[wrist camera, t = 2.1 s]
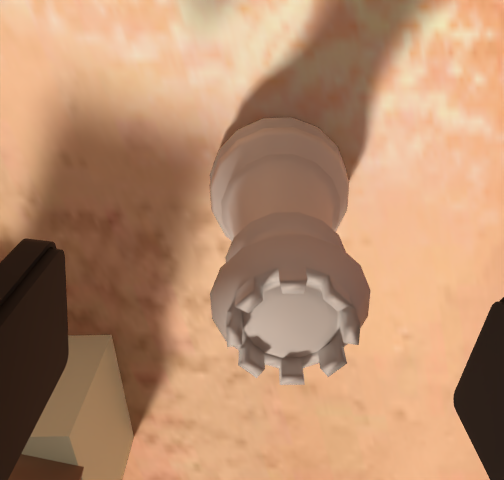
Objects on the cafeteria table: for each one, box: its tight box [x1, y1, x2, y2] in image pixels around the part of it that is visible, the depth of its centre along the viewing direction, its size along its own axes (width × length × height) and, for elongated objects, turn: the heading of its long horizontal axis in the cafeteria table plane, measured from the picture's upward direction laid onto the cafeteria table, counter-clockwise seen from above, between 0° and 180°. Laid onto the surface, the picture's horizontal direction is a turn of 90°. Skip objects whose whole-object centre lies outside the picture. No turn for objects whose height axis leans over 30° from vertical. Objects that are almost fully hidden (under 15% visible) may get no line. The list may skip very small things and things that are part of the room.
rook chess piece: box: [210, 117, 370, 385], centre depth 12 cm, size 4×4×8 cm
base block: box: [21, 335, 134, 480], centre depth 19 cm, size 6×6×5 cm
